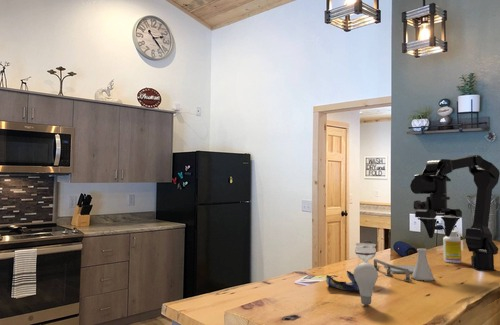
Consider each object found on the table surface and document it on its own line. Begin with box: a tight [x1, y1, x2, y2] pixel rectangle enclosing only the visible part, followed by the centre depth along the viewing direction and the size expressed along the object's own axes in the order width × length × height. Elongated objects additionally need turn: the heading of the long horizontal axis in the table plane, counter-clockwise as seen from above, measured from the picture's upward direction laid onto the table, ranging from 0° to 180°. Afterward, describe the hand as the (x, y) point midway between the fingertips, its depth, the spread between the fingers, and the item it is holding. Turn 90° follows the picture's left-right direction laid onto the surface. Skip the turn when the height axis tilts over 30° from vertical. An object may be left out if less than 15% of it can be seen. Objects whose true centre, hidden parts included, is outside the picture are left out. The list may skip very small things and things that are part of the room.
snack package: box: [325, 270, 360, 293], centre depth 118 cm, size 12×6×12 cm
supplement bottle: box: [442, 230, 463, 264], centre depth 164 cm, size 7×7×13 cm
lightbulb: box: [353, 261, 379, 307], centre depth 102 cm, size 6×6×11 cm
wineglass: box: [354, 242, 377, 263], centre depth 129 cm, size 7×7×12 cm
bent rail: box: [373, 258, 413, 283], centre depth 138 cm, size 4×22×4 cm, turn 14°
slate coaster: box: [383, 264, 415, 275], centre depth 146 cm, size 11×11×1 cm
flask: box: [410, 248, 435, 282], centre depth 132 cm, size 7×7×10 cm
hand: (439, 237), depth 141 cm, fingers open, 9 cm apart
